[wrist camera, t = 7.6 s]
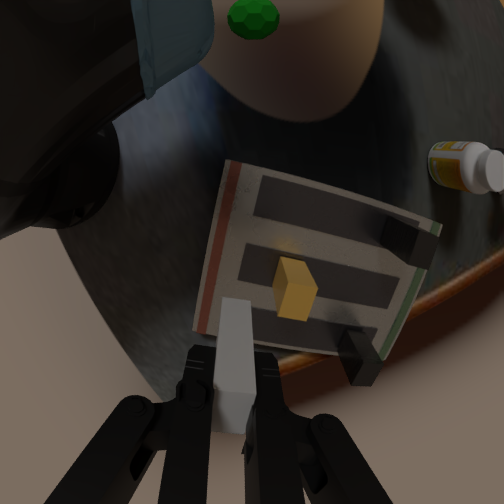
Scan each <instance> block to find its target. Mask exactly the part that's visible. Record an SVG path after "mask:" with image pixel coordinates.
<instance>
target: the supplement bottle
mask: <svg viewBox="0 0 504 504" xmlns="http://www.w3.org/2000/svg"><path fill="white" fill-rule="evenodd" d="M428 169H429V172H430V175H431V177H432V178H433V180H434V181H435V182H436V183H438V184H439V185H441V186H445V187H449V188H453V189H458V190H462V191H466V192H470V193H474V194H484V193H486V192H488V191H494V192H500V191H502V190H503V189H504V155H503V154H502V153H501V152H500V151H497V150H491V149H489V148H488V147H487V146H486V145H484V144H482V143H479V142H439V143H437V144H435V145H434V146H433V147H432V148H431V150H430V152H429V155H428Z"/></svg>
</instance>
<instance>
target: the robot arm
mask: <svg viewBox="0 0 504 504" xmlns="http://www.w3.org/2000/svg"><path fill="white" fill-rule="evenodd" d="M213 38H214V13H213V7H212V1H211V0H0V240H1V239H2V238H5V237H7V236H9V235H12V234H14V233H16V232H18V231H20V230H23V229H25V228H27V227H29V226H34V227H43V228H52V229H63V228H68V227H72V226H74V225H77V224H79V223H81V222H83V221H85V220H87V219H89V218H90V217H92V216H93V215H94V214H95V213H96V212H97V211H98V210H99V209H100V208H101V207H102V206H103V204H104V203H105V202H106V200H107V198H108V197H109V195H110V193H111V191H112V188H113V186H114V183H115V180H116V176H117V171H118V164H119V146H118V139H117V135H116V131H115V128H114V126H113V124H112V121H113V120H115V119H116V118H118V117H119V116H120V115H122V114H123V113H124V112H126V111H127V110H129V109H130V108H132V107H133V106H135V105H136V104H138V103H139V102H141V101H142V100H144V99H145V98H146V99H147V100H148V99H150V98H152V97H153V95H154V94H155V92H156V90H157V89H158V88H160V87H161V86H163V85H164V84H166V83H167V82H169V81H170V80H172V79H173V78H175V77H177V76H178V75H180V74H181V73H183V72H184V71H186V70H188V69H189V68H191V67H193V66H194V65H196V64H197V63H199V62H200V61H201V60H202V59H203V58H204V57H205V56H206V54H207V53H208V51H209V50H210V47H211V45H212V42H213ZM245 430H246V440H245V443H244V446H243V449H242V453H241V454H244V461H245V462H244V463H245V464H244V466H245V504H305V499H304V492H303V488H304V490H305V492H306V494H307V496H308V498H309V500H310V502H311V504H393V503H392V501H391V500H390V498H389V497H388V495H387V493H386V492H385V490H384V489H383V487H382V485H381V484H380V483H379V481H378V479H377V478H376V476H375V474H374V473H373V471H372V470H371V468H370V467H369V465H368V463H367V462H366V460H365V459H364V457H363V455H362V454H361V452H360V451H359V449H358V448H357V446H356V444H355V443H354V441H353V440H352V438H351V436H350V435H349V433H348V432H347V430H346V428H345V427H344V425H343V424H342V422H341V421H340V420H339V419H338V418H337V417H335V416H333V415H330V414H319V415H316V416H314V417H313V419H310V418H306V417H302V416H299V415H296V414H294V413H293V412H291V411H290V410H289V408H288V407H287V406H286V405H285V403H284V399H283V392H282V386H281V379H280V373H279V367H278V361H277V359H276V358H275V357H274V355H273V354H272V353H264V352H254V347H253V331H252V314H251V301H249V300H241V299H234V298H227V297H222V304H221V311H220V318H219V325H218V332H217V339H216V347H209V346H202V345H196V344H195V345H194V346H193V347H192V348H191V349H190V350H189V351H188V356H187V361H186V365H185V370H184V374H183V379H182V380H181V381H179V382H178V384H177V386H176V398H174V399H173V400H171V401H168V402H163V403H152V402H151V401H150V400H149V399H147V398H146V397H143V396H139V395H131V396H128V397H125V398H124V399H123V400H121V401H120V403H119V404H118V405H117V407H116V408H115V409H114V410H113V412H112V413H111V414H110V416H109V417H108V418H107V420H106V421H105V422H104V423H103V425H102V426H101V428H100V429H99V430H98V431H97V433H96V434H95V436H94V437H93V438H92V439H91V441H90V442H89V443H88V445H87V446H86V447H85V449H84V450H83V451H82V453H81V454H80V455H79V457H78V458H77V459H76V461H75V462H74V463H73V465H72V466H71V467H70V469H69V470H68V471H67V473H66V474H65V476H64V477H63V478H62V480H61V481H60V482H59V484H58V485H57V486H56V488H55V489H54V491H53V492H52V493H51V495H50V496H49V497H48V499H47V500H46V501H45V503H44V504H128V503H129V501H130V499H131V498H132V496H133V494H134V492H135V491H136V489H137V487H138V485H139V483H140V482H141V480H142V478H143V476H144V474H145V473H146V471H147V469H148V467H149V465H150V464H151V462H152V460H153V458H154V456H155V455H156V453H157V451H159V450H167V451H166V457H165V462H164V467H163V473H162V479H161V486H160V492H159V499H158V504H206V499H207V481H208V480H207V479H208V464H209V449H210V434H211V431H214V432H223V433H233V434H245Z"/></svg>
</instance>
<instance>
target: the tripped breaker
mask: <svg viewBox="0 0 504 504" xmlns="http://www.w3.org/2000/svg"><path fill="white" fill-rule="evenodd" d="M272 287H273V292H274V298H275V304H276V309H277V315H278V316H279V317H284V318H290V319H296V320H301V321H307V318H308V316H309V313H310V310H311V307H312V305H313V302H314V299H315V296H316V293H317V290H318V287H317V285H316V283H315V281H314V279H313V277H312V275H311V273H310V271H309V269H308V267H307V265H306V264H305V262H304V261H300V260H295V259H291V258H286V257H282V256H280V259H279V263H278V266H277V270H276V273H275V277H274V280H273V284H272Z"/></svg>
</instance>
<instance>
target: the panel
mask: <svg viewBox="0 0 504 504" xmlns="http://www.w3.org/2000/svg"><path fill="white" fill-rule="evenodd" d="M442 226H443V225H442V224H440V223H438V222H435V221H433V220H431V219H428V218H426V217H423V216H420V215H418V214H415V213H412V212H410V211H407V210H404V209H401V208H398V207H396V206H393V205H390V204H387V203H384V202H381V201H378V200H375V199H372V198H369V197H366V196H363V195H360V194H357V193H354V192H350V191H347V190H344V189H341V188H337V187H334V186H331V185H327V184H324V183H320V182H317V181H313V180H310V179H306V178H302V177H299V176H295V175H291V174H287V173H283V172H279V171H275V170H271V169H267V168H263V167H259V166H255V165H250V164H246V163H242V162H237V161H232V160H226V161H225V165H224V170H223V174H222V178H221V183H220V187H219V192H218V196H217V201H216V206H215V210H214V215H213V220H212V225H211V230H210V235H209V240H208V245H207V250H206V255H205V260H204V265H203V271H202V276H201V282H200V287H199V293H198V299H197V304H196V310H195V316H194V322H193V328H192V331H196V333H200V334H210V335H214V336H217V332H218V325H219V318H220V311H221V304H222V297H227V298H234V299H241V300H249V301H251V314H252V331H253V343H255V344H261V345H267V346H273V347H279V348H285V349H292V350H299V351H306V352H313V353H321V354H329V355H338V356H339V357H340V360H341V362H342V365H343V367H344V369H345V372H346V374H347V377H348V379H349V382H350V384H351V386H372V384H373V382H374V381H375V379H376V377H377V376H378V374H379V372H380V370H381V369H382V367H383V365H384V363H383V362H382V361H383V360H385V359H386V358H387V356H388V354H389V352H390V350H391V349H392V347H393V345H394V343H395V341H396V339H397V337H398V335H399V333H400V331H401V329H402V327H403V325H404V323H405V321H406V319H407V316H408V314H409V312H410V310H411V308H412V305H413V303H414V301H415V299H416V296H417V294H418V292H419V289H420V287H421V284H422V282H423V279H424V277H425V274H426V272H427V270H428V269H429V267H430V264H431V262H432V259H433V256H434V253H435V250H436V248H437V245H438V242H439V239H440V237H439V235H440V232H441V229H442ZM280 256H282V257H286V258H291V259H295V260H300V261H304V262H305V264H306V265H307V267H308V269H309V271H310V273H311V275H312V277H313V279H314V281H315V283H316V285H317V287H318V290H317V293H316V296H315V299H314V302H313V305H312V307H311V310H310V313H309V316H308V318H307V321H301V320H296V319H290V318H284V317H279V316H278V315H277V309H276V304H275V298H274V292H273V287H272V284H273V280H274V277H275V273H276V270H277V266H278V263H279V259H280Z"/></svg>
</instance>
